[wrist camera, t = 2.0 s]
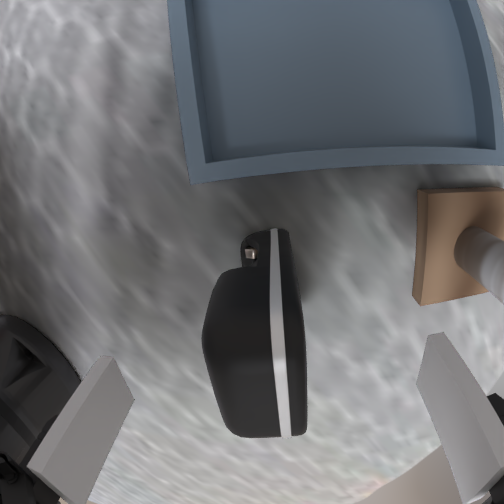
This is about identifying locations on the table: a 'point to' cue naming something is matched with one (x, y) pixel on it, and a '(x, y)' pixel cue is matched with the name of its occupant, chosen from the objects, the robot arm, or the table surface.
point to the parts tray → (333, 85)
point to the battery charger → (258, 341)
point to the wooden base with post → (459, 244)
